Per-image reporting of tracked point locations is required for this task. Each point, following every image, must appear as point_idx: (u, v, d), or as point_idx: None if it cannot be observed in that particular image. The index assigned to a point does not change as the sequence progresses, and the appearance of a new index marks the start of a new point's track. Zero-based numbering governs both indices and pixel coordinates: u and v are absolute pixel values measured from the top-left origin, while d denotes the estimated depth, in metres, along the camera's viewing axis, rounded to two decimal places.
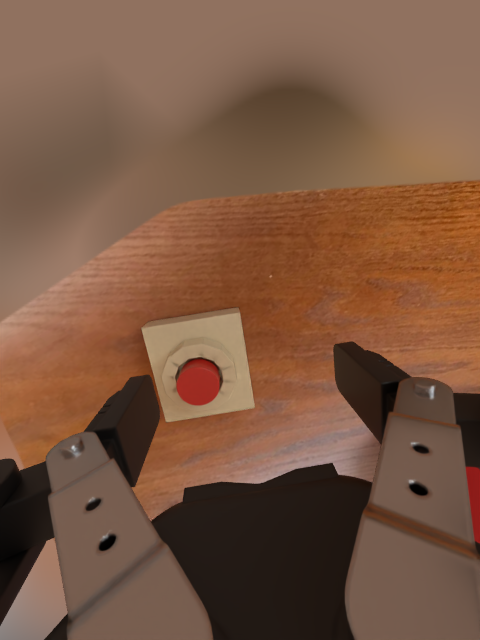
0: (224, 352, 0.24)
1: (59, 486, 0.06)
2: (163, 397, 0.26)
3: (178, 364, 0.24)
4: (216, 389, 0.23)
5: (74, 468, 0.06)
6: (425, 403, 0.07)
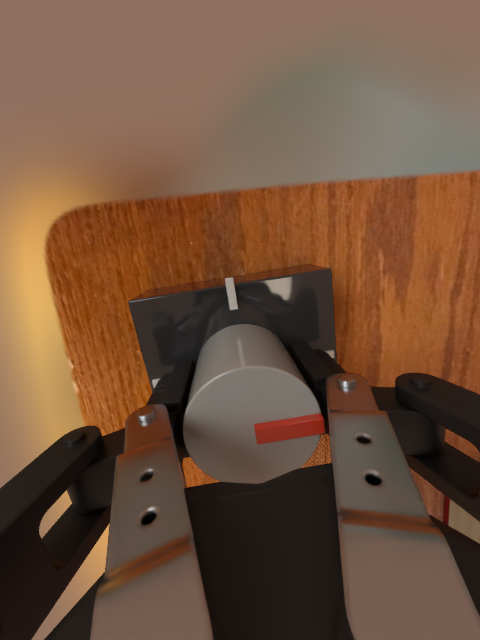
0: None
1: (130, 449, 0.07)
2: None
3: None
4: None
5: (156, 431, 0.07)
6: (341, 395, 0.08)
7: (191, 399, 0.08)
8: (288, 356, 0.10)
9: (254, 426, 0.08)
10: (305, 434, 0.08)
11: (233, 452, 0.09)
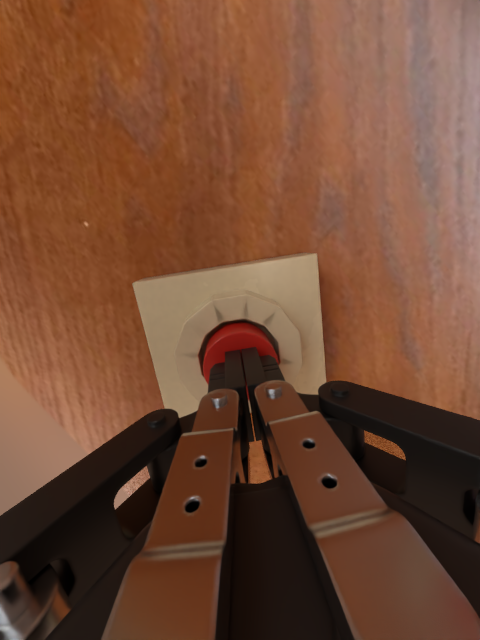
0: (191, 315, 0.14)
1: (197, 428, 0.07)
2: None
3: None
4: (247, 337, 0.12)
5: (236, 413, 0.07)
6: (263, 403, 0.08)
7: None
8: None
9: None
10: None
11: None
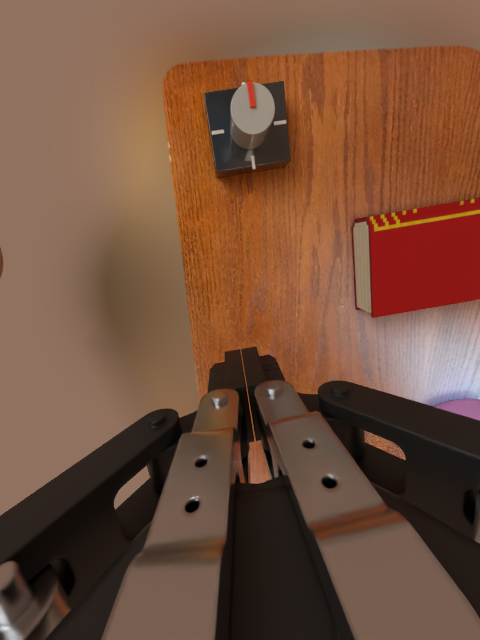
0: None
1: (197, 428, 0.07)
2: None
3: None
4: None
5: (236, 412, 0.07)
6: (263, 403, 0.08)
7: (241, 130, 0.27)
8: None
9: (251, 108, 0.27)
10: (252, 88, 0.26)
11: (260, 116, 0.27)
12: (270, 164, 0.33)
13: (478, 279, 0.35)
